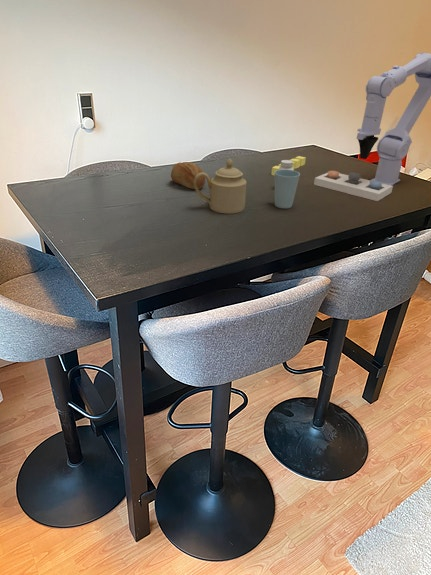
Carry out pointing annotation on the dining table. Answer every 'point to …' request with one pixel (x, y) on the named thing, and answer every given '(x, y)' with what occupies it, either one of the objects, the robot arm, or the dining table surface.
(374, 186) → the slate blue button
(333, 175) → the terracotta button
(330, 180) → the button panel
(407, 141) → the robot arm
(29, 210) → the dining table surface
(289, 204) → the cup
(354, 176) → the charcoal button
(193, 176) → the bread roll
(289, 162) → the supplement bottle
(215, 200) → the sugar bowl
